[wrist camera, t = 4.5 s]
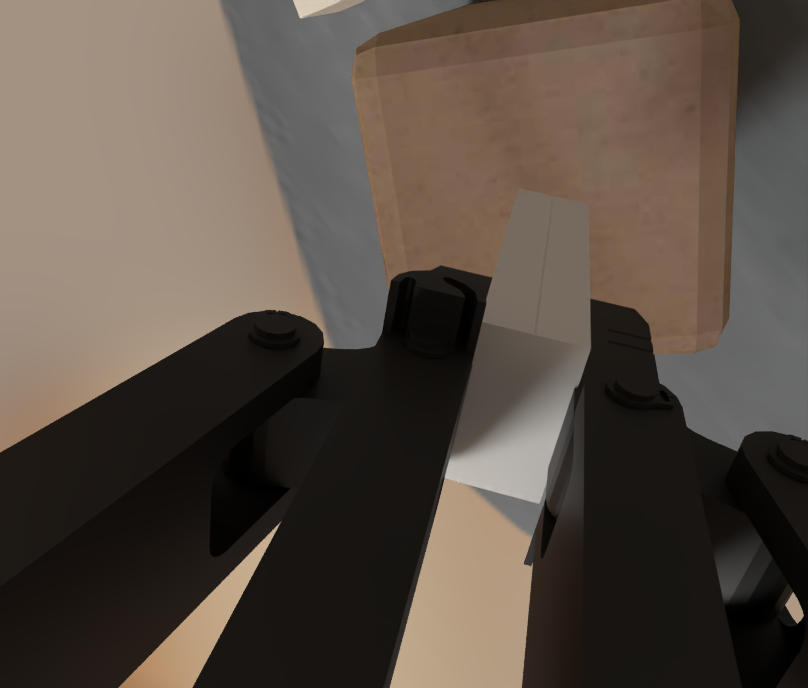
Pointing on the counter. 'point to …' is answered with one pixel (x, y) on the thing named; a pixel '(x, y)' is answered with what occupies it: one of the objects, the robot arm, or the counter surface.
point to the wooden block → (564, 144)
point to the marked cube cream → (322, 6)
